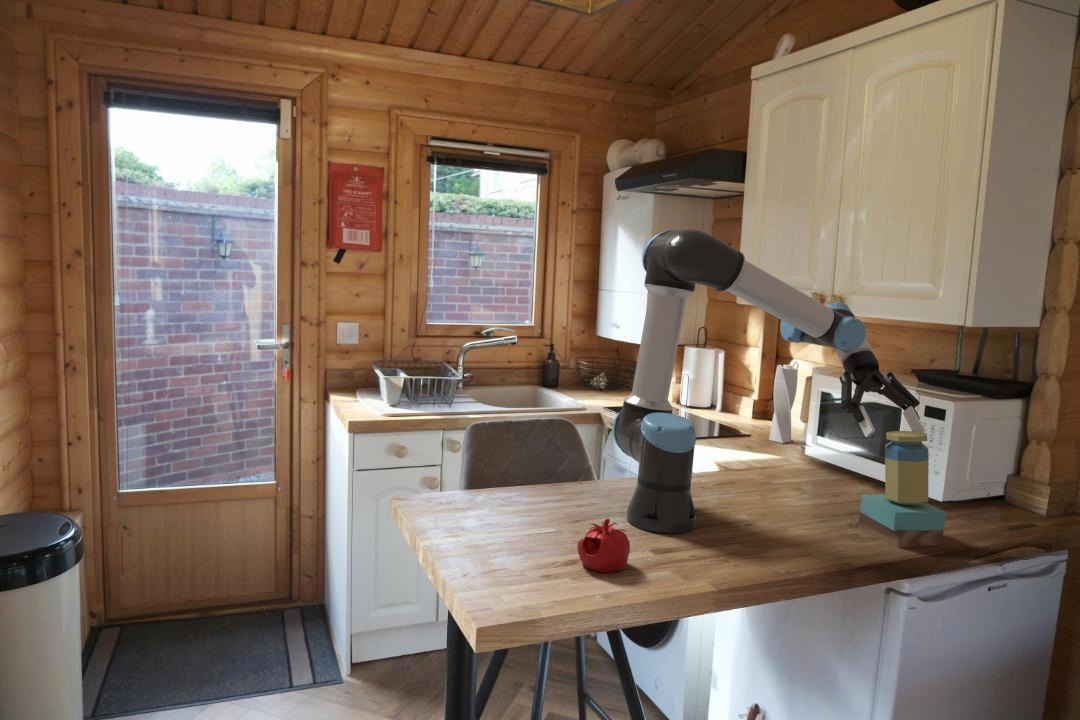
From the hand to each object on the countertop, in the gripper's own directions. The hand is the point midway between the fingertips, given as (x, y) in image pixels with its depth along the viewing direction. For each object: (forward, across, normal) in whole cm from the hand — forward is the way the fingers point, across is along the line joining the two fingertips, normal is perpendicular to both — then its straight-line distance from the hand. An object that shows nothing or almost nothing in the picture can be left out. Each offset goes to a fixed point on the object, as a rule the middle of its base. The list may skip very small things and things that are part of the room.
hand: (895, 433), depth 169 cm
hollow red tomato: (+23, +73, -8) cm, 77 cm away
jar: (+14, -1, -7) cm, 15 cm away
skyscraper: (-42, -28, -73) cm, 89 cm away
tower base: (+19, 0, -13) cm, 23 cm away
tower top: (+16, 0, -10) cm, 19 cm away
